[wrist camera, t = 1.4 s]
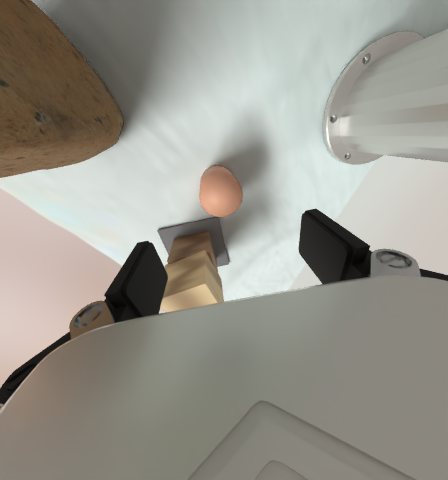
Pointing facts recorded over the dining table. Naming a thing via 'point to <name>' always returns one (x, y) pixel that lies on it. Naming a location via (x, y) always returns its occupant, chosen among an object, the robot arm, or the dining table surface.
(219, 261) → the mat
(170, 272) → the tower top
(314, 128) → the dining table surface
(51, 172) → the dining table surface
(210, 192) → the peach egg-shaped pebble
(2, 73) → the block
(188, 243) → the block
